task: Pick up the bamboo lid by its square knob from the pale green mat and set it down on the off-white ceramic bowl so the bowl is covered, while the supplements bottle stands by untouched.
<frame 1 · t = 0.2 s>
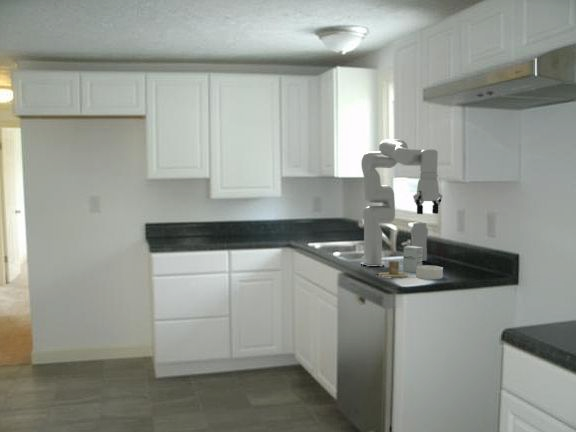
hand: (427, 213, 277), 31 cm above the countertop, tool pointing down, fingers open, 9 cm apart
lid: (393, 275, 285), point 1 cm above the countertop, touching mat
supplement box: (412, 272, 301), on the countertop
mat: (393, 276, 285), on the countertop
tall pale column: (418, 261, 336), on the countertop
bowl: (429, 278, 283), on the countertop
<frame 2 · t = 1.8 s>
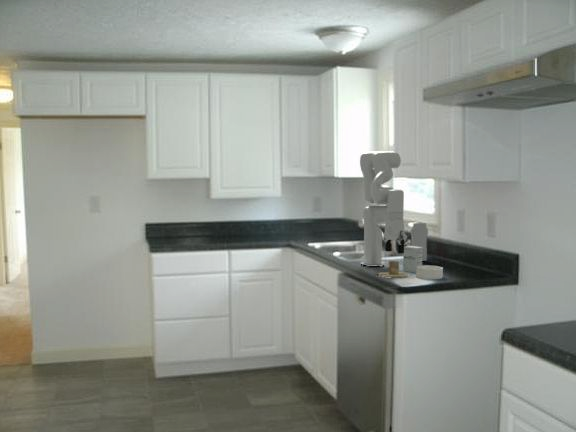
hand: (394, 252, 283), 12 cm above the countertop, tool pointing down, fingers open, 9 cm apart
nothing on the countertop moved.
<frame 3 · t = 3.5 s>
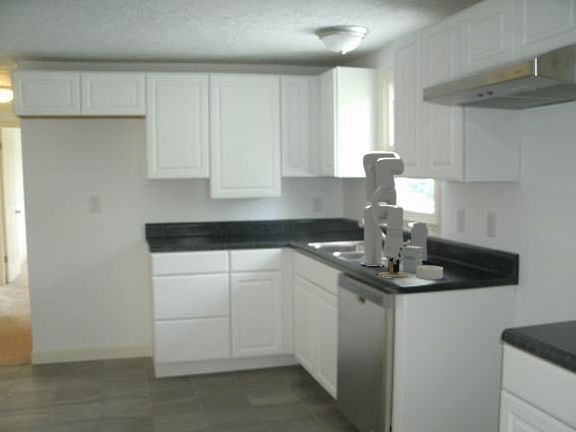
hand: (393, 271, 285), 3 cm above the countertop, tool pointing down, fingers closed on lid, 3 cm apart
lid: (393, 275, 285), point 1 cm above the countertop, touching gripper, mat
everything else where it was.
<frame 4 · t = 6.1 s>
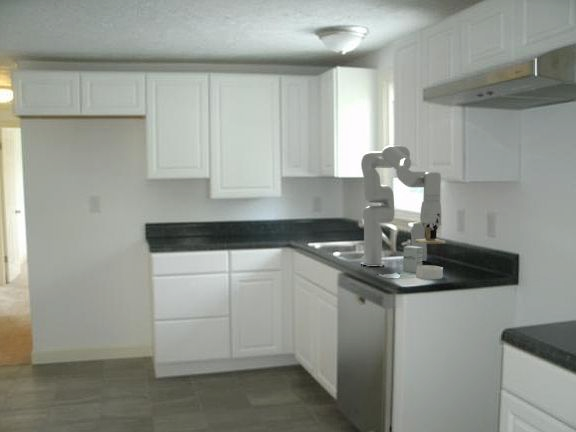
hand: (430, 237, 281), 19 cm above the countertop, tool pointing down, fingers closed on lid, 3 cm apart
lid: (430, 242, 281), point 17 cm above the countertop, touching gripper
everything else where it was.
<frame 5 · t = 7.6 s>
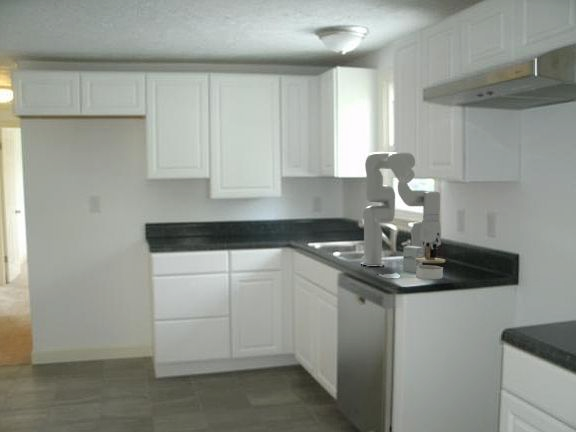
hand: (430, 256, 282), 10 cm above the countertop, tool pointing down, fingers closed on lid, 3 cm apart
lid: (430, 261, 282), point 8 cm above the countertop, touching gripper
everything else where it was.
when the fingers open (8 cm above the countertop, at t = 8.7 s): lid stays where it is, resting on bowl.
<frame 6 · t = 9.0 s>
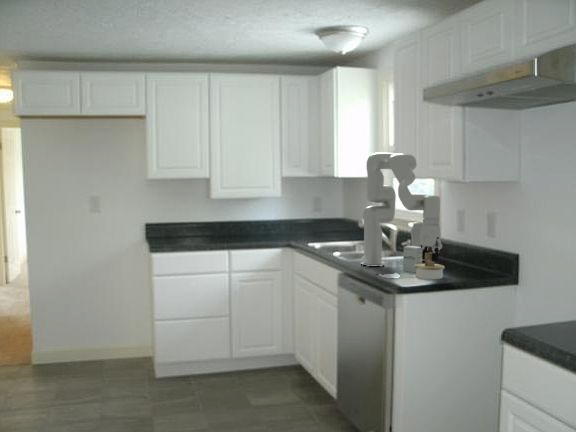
hand: (429, 260, 282), 9 cm above the countertop, tool pointing down, fingers open, 6 cm apart
lid: (429, 267, 282), point 5 cm above the countertop, touching bowl
everything else where it was.
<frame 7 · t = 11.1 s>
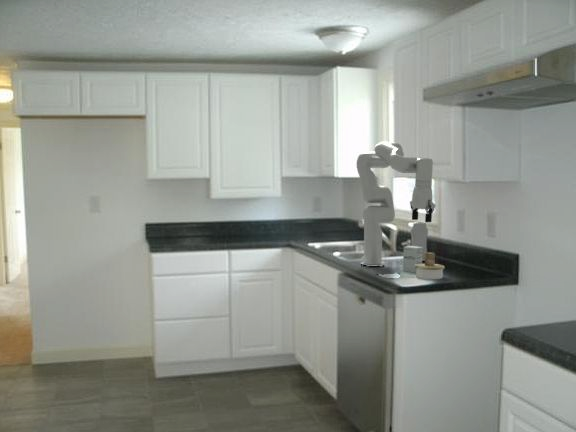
hand: (421, 220, 284), 27 cm above the countertop, tool pointing down, fingers open, 9 cm apart
nothing on the countertop moved.
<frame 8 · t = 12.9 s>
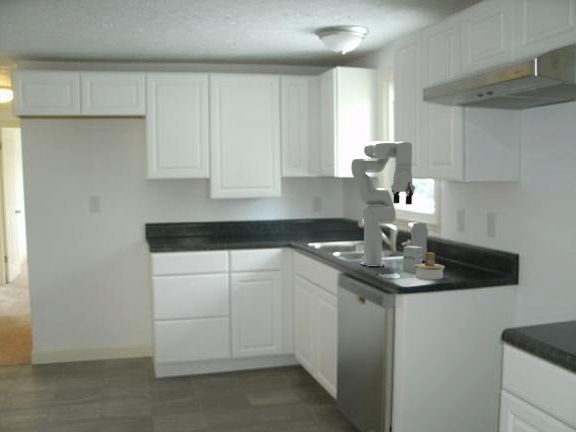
hand: (402, 203, 289), 34 cm above the countertop, tool pointing down, fingers open, 9 cm apart
nothing on the countertop moved.
at the end: lid 0.1 cm off-centre on the bowl, point 5.1 cm above the bowl's base; lid tilted 0°; the gripper is holding nothing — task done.
